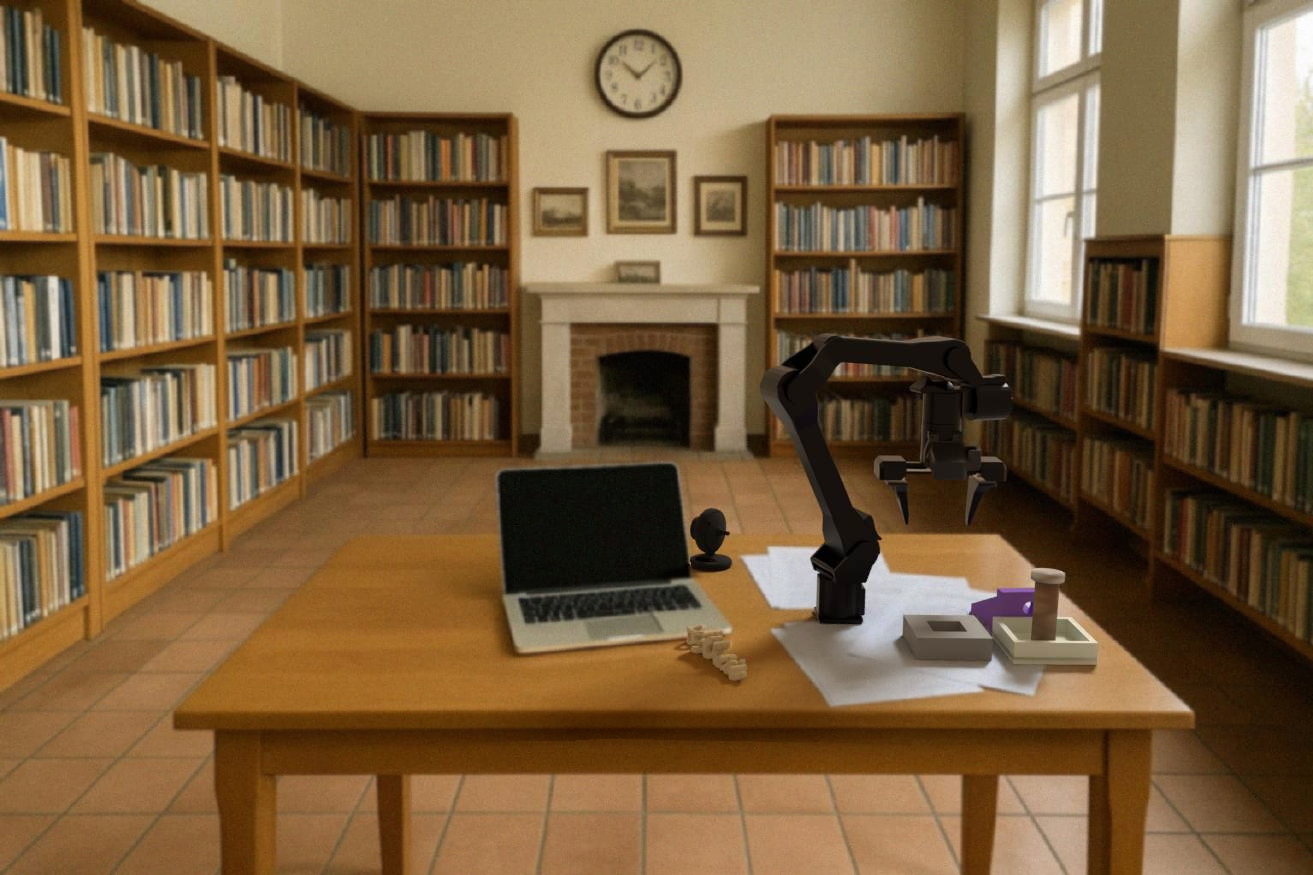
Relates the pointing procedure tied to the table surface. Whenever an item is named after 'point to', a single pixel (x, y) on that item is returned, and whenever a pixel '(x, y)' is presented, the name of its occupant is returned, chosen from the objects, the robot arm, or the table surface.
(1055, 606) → the peg
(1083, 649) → the tray
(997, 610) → the bracket
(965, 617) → the holder
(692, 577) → the table surface
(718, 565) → the webcam
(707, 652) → the decorative script
